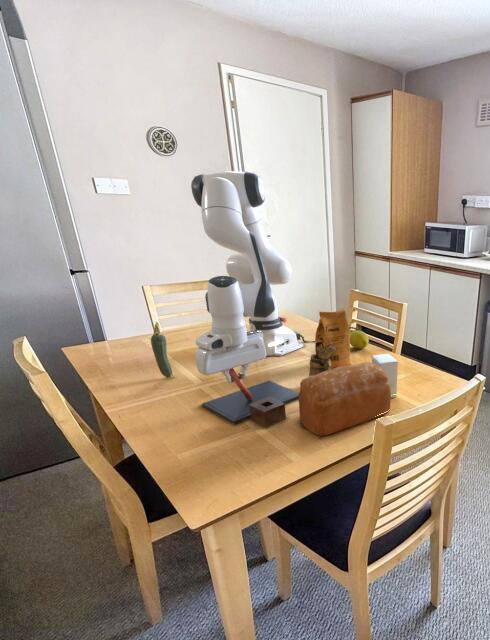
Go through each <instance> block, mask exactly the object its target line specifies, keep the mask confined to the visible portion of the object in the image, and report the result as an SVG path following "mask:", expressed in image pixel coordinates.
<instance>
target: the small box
mask: <svg viewBox="0 0 490 640" xmlns="http://www.w3.org/2000/svg"><path fill="white" fill-rule="evenodd" d="M371 363H373V364H376V365H377V366H378V367H380V368H381V369H382V370H383V371H384V372H385V373H386V374H387V376H388V382H389V385H390V392H391V395H392V396H390V399H393V398H397V395H398V394H397V393H398V391H397V390H398V366H399V361H398V360H397V359H395V358H394V357H393V356H392V355H391V354H389V353H384V354H374V355H371ZM393 394H397V395H393Z"/></svg>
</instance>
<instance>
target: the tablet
mask: <svg viewBox="0 0 490 640" xmlns="http://www.w3.org/2000/svg"><path fill="white" fill-rule="evenodd" d="M246 388H247V389H248V391H249V392H250V393H251V395H252V397H253V398H252V399H251V400H247V398H246V397H245V396H244V394H243V393H242V391H241V390H240V389H239V390H237V391H234V392H231V393H228V394H226V395H223V396H219V397H217V398H214V399H211V400H207V401H205V402H203V403H201V406H202V407H203V408H204V409H206V410H208V411H210V412H212V413H213V414H215V415H217V416H219V417H220V418H222V419H224V420H226V421H228V422H229V423H231V424H233V425H237V424H239V423H242V422H244V421H247V420H250V419H251V416H250V408H249V404H252V403H255V402H257V401H260V400H262V399H265V398H268V397H271V398H274V399H276V400H278V401H280V402H282V403H284V404H285V405H286V404H288V403H290V402H293V401H296V400H299V396H298V394H299V392H297V391H294V390H292V389H289V388H287V387H286V386H283V385H282V384H281V385H280V384H279V383H276V382H274V381H271V380H266V381H263V382H260V383H256V384H255V385H251V386H249V387H246Z"/></svg>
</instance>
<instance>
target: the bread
mask: <svg viewBox="0 0 490 640" xmlns="http://www.w3.org/2000/svg"><path fill="white" fill-rule="evenodd" d="M299 388H300V390H299V392H298V393H299V394H298V396H299V398H298V409H299V410H298V411H299V414H298V415H299V422H300V423H301V424H302V425H303V426H304V427H305V429H307V430H308V431H310V433H313V434H315V435H317V436H318V437H321V436H322V437H323V436H328V435H331V434H334V433H338V432H340V431H343V430H345V429H346V430H347V429H348V428H351V427H353V426H356V425H359V424H362V423H365V422H367V421H370V420H373V419H376V418H379V417H382V416H385V415H387V414H388V413H389V412H390V411H391V398H390V396H391V392H390V385H389V382H388V376H387V374H386V373H385V372H384V371H383V370H382V369H381V368H380V367H378V366H377V365H376V364H373V363H372V362H370V361H365V362H361V363H354V364H350V365H347V366H342V367H337V368H333V369H331V370H328V371H324V372H322V373H319V374H317V375H315V376H309V375H308V376H306V377H304V378H302V379H301V381H300V382H299ZM389 409H390V410H389ZM388 410H389V411H388ZM386 411H388V412H387V413H384V412H386ZM381 413H384V414H381ZM379 414H381V415H379ZM377 415H379V416H377ZM375 416H376V417H375Z"/></svg>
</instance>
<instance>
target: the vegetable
mask: <svg viewBox="0 0 490 640" xmlns="http://www.w3.org/2000/svg"><path fill="white" fill-rule="evenodd" d="M150 345H151V349H152V352H153V355H154V358H155V361H156V364H157V367H158V370H159V372H160V373H161V375H162V376H163V377H165V378H166V379H169V378H172V377H173V375H174V374H173V369H172V366H171V362H170V360H169V358H168V351H167V339H166V337H165V336H164V335H163V334H162V333H161V327H160V324H159V321H155V324H154V328H153V334H152V335H151V337H150Z"/></svg>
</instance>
